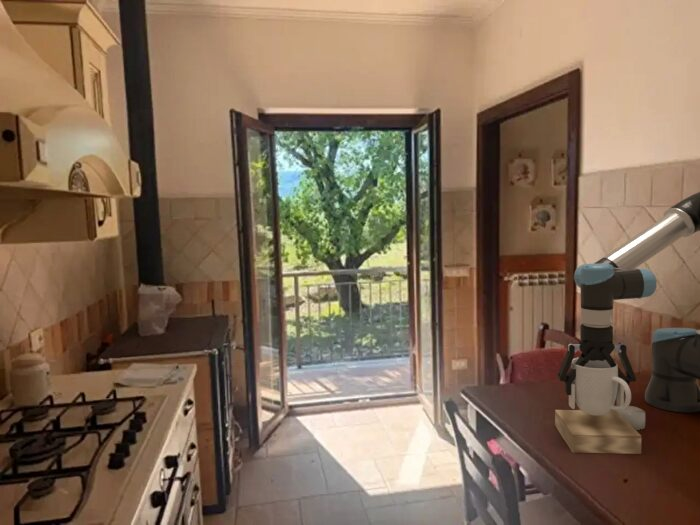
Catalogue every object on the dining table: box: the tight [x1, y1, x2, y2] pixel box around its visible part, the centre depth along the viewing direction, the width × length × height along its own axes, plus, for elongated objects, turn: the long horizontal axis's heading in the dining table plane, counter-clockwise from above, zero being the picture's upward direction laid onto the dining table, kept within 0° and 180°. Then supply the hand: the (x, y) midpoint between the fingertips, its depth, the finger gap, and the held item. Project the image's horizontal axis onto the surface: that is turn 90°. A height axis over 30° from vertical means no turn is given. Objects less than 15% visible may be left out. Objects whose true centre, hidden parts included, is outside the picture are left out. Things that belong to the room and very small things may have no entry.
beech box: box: [554, 409, 642, 455], centre depth 134 cm, size 16×16×5 cm
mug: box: [570, 356, 632, 416], centre depth 132 cm, size 15×11×13 cm
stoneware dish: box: [611, 405, 646, 431], centre depth 142 cm, size 8×8×4 cm
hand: (595, 407), depth 133 cm, fingers closed on mug, 11 cm apart
